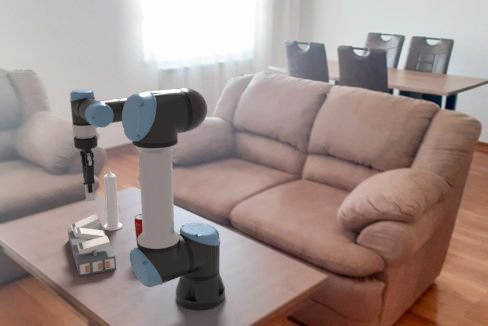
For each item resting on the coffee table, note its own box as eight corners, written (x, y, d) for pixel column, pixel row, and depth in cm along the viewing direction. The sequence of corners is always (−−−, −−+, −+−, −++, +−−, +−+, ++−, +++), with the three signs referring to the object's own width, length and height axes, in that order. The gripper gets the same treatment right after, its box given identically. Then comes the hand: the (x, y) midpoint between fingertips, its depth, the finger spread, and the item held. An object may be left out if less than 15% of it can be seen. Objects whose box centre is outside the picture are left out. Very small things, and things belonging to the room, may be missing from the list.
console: (116, 270, 166) (115, 252, 164) (79, 277, 161) (77, 259, 159) (101, 234, 190) (100, 219, 188) (68, 240, 185) (67, 224, 183)
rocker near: (110, 245, 166) (109, 241, 165) (79, 254, 162) (78, 249, 161) (107, 239, 170) (106, 235, 169) (77, 247, 166) (76, 243, 165)
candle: (126, 226, 198) (122, 167, 190) (112, 232, 192) (108, 172, 184) (113, 221, 201) (109, 163, 194) (100, 228, 196) (95, 168, 188)
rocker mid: (104, 240, 174) (105, 235, 173) (75, 237, 169) (76, 232, 169) (101, 234, 178) (102, 230, 178) (73, 231, 173) (74, 226, 173)
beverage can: (150, 259, 173) (149, 220, 168) (133, 257, 174) (131, 218, 169) (157, 251, 178) (155, 213, 174) (140, 249, 179) (138, 211, 175)
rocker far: (100, 222, 181) (98, 218, 180) (74, 234, 178) (72, 230, 177) (98, 216, 185) (96, 212, 184) (72, 228, 182) (70, 224, 181)
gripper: (100, 139, 163) (104, 205, 170) (93, 129, 174) (97, 192, 181) (76, 141, 159) (82, 208, 167) (70, 131, 171) (76, 195, 178)
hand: (90, 200), depth 174 cm, fingers closed
